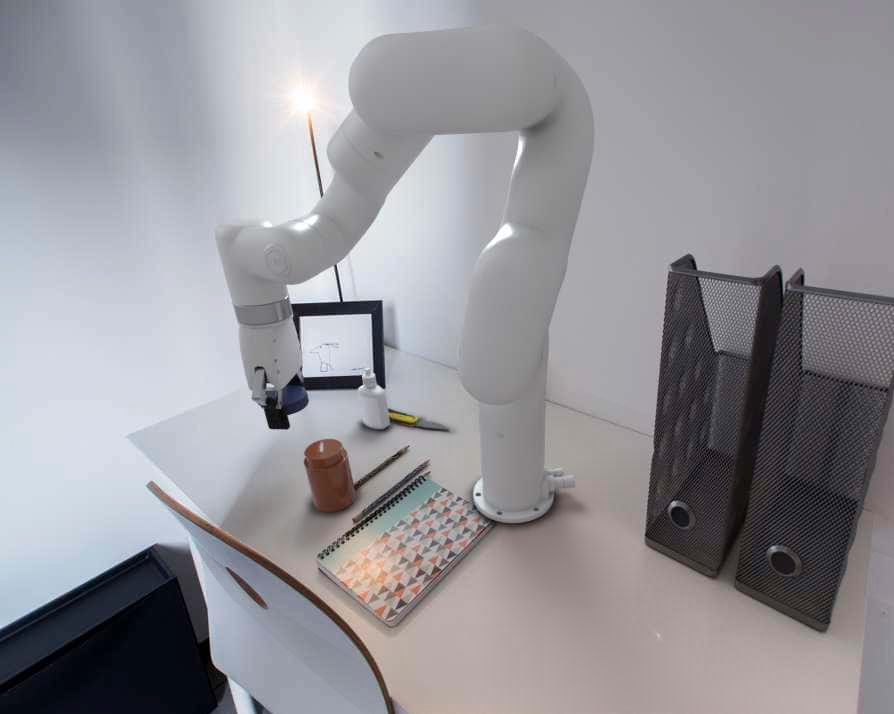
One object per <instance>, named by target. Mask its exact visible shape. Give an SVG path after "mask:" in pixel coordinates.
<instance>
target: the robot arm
mask: <svg viewBox="0 0 894 714" xmlns="http://www.w3.org/2000/svg"><path fill="white" fill-rule="evenodd" d="M348 92H349V93H348V94H349V98H350V101H351V105H352V108H351V110H350V111H349V113H348V114H347V116H346V117H345V118H344V120H343V121H342V122H341V124H340V125H339V127H338V128H337V130H336V131H335V133H334V134H333V135H332V137H331V138H330V140H329V141H328V144H327V147H326V156H327V159H328V162H329V164H330V166H331V168H332V169H333V170H334V174H333V178H332V180H331V182H330V184H329V186H328V188H327V189H326V190H325V192H324V194H323V195H322V196H321V198H320V200H318V201H317V202H316V205H315V206H314V207H313V209H312V210H311V211H310V212H309V213H308V214H306V215H301V216H299V217H297V218H296V217H295V218H293V219H291V220H288V221H286V222H282V223H279V224H277V225H274V226H273V224H272V223H271V222H270V221H268V220H266V219H263V218H257V217H256V218H255V217H248V218H247V217H246V218H245V217H244V218H236V219H235V218H234V219H230V220H226V221H222V222H220V223H218V225H217V226H216V227H215V229H214V240H215V243H216V247H217V250H218V255H219V257H220V262H221V265H222V269H223V272H224V276H225V280H226V284H227V288H228V291H229V292H228V293H229V295H230V299H231V303H232V306H233V310H234V313H235V317H236V321H237V325H238V326H239V327H238V340H239V350H240V355H241V360H242V361H241V362H242V365H243V370H244V376H245V379H246V383H247V387H248V389H249V390H250V391H251V400H252V401H253V402H255V403H256V404H257V405H258V406H259V407H260V409H262V410H263V412H264V415H265V416H264V417H265V419H266V423H267V427H268V429H270V430H283V431H284V430H285V431H286V430H289V429H290V428H291V423H290V419H289V415H287V411H286V406H282V389H283V388H284V387H285V386H286V385H298V386H302V387H304V388H305V389H306V387H305V383H304V380H305V376H304V374H303V372H302V370H303V368H304V367H303V362H304V361H303V350H302V347H301V343H300V340H299V336H298V333H297V329H296V325H295V321H294V319H293V318H294V311H293V308H292V303H291V299H290V294H289V289H288V286H295V285H296V286H297V285H300V284H304V283H306V282H307V281H309V280H311V279H313V278H314V277H316V276H318V275H320V274H321V273H323V272H324V271H327V270H328V269H331V268H332V267H334V266H336V265H338V264H339V263H341V262H342V261H343V260H344V259H345V258H347V256H348V255H349V254H350V253H351V251H352V250H353V249H354V248H355V246H356V245H357V244H358V243H359V241H360V240H362V238H363V237H364V235H365V234H366V233H367V232H368V230H369V229H370V228H371V226H372V225H373V223H374V222H375V220H376V219H377V217H378V215H379V213H380V212H381V210H382V208H383V206H384V204H385V203H386V200H387V197H388V195H389V194H390V193H391V192H392V190H393V188H395V186H396V185H397V184H398V182H399V181H400V180H401V178H402V177H403V176H404V175H405V173H406V172H407V171H408V170H409V169H410V167H411V166H412V165H413V163H414V162H415V161H416V159H418V158H419V156H420V155H421V153H422V152H423V151H424V149H426V147H427V146H428V145H429V144H430V142H431V141H432V140H433V138H434V137H435V136H446V135H465V134H489V133H490V134H492V133H510V132H517V135H518V136H517V137H518V138H517V139H518V144H517V152H516V157H515V160H514V164H513V167H512V171H511V175H510V180H509V185H508V193H507V196H506V197H507V198H506V202H505V207H504V210H503V215H502V219H501V222H500V225H499V229H498V231H497V233H496V234H495V236H494V237H493V238H492V239H491V240H490V241H489V243H487V245H486V246H485V247H484V249H482V251H481V253H480V254H479V256H478V259H477V260H476V263H475V265H474V269H473V271H472V274H471V279H470V282H469V287H468V293H467V298H466V303H465V309H464V314H463V319H462V324H461V330H460V335H459V341H458V346H457V352H456V371H457V375H458V378H459V381H460V383H461V385H462V387H463V388H464V389H465V391H466V392H467V393H468V394H469V395H470V396H471V397H472V398H473V399H475V400H476V401H477V405H478V425H479V428H478V429H479V444H480V462H481V463H480V464H481V477H480V478H479V479H478V480H477V482H476V484H474V487H473V491H472V499H473V502H474V506H475V507H476V509H477V511H479V512H480V513H481V514H482V515H483V516H485V517H487V518H488V519H491V520H494V521H496V522H500V523H505V524H521V523H527V522H530V521H533V520H536V519H538V518H540V517H542V516H543V515H545V514H546V513H547V512H548V511H549V510H550V509H551V507H552V505H553V503H554V500H555V499H554V498H555V492H556V490H557V489H558V490H559V489H571V488H572V489H573V488H576V479H575V476H574V475H573V474H568V475H564V469H563V467H557V468H552V469H548V467H545V453H546V451H545V450H546V449H545V448H546V447H545V446H546V413H547V412H546V409H547V407H546V406H547V403H546V402H547V380H548V379H547V377H548V364H549V350H550V333H549V328H550V325H551V322H552V318H553V314H554V311H555V308H556V304H557V301H558V297H559V294H560V291H561V288H562V286H563V283H564V280H565V277H566V274H567V270H568V263H569V255H570V251H571V245H572V241H573V238H574V234H575V230H576V226H577V222H578V219H579V216H580V212H581V207H582V202H583V199H584V195H585V190H586V187H587V184H588V179H589V174H590V171H591V166H592V161H593V154H594V146H595V120H594V113H593V107H592V104H591V101H590V96H589V94H588V92H587V89H586V87H585V85H584V83H583V81H582V80H581V78H580V75H578V73H577V72H576V70H575V69H574V68H573V67H572V65H571V64H570V63H569V62H568V60H567V59H566V58H565V57H564V56H563V55H562V54H561V53H560V52H559V51H558V50H556V48H555V47H554V46H552V45H551V44H550V43H549V42H547V41H546V40H544V39H543V38H542V37H540V36H539V35H537V34H535V33H533V32H531V31H529V30H528V29H526V28H523V27H520V26H516V25H513V24H505V23H504V24H503V23H502V24H485V25H476V26H475V25H474V26H465V27H457V28H447V29H446V28H445V29H437V30H426V31H413V32H400V33H387V34H386V33H385V34H382V35H378V36H376V37H374V38H372V39H370V40H369V41H368V42H366V43H365V44H364V45H363V46H362V47H361V48H360V49H359V50H358V51H357V53H356V55H355V56H354V58H353V60H352V63H351V65H350V69H349V74H348ZM267 384H268V385H269V384H270V385H272V387H271V386H270V387H269V386H267ZM268 392H275V399H273V398H271V397H268Z"/></svg>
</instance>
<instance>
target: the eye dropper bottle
mask: <svg viewBox="0 0 894 714" xmlns="http://www.w3.org/2000/svg"><path fill="white" fill-rule="evenodd" d="M364 371H365V373H363V374H362V376H361V380H362V385H361V386H359V387H358V388H357V396H358V403H359V408H360V413H361V419H362V422H363V424H364V425H365V426H367V427H368V428H371V429H374V430H384V429H386V428H388V427H389V426H390V424H391V421H390V420H389V414H388V408H389V407H388V402H387V396H386V392H385V390H384V388H382V387H381V386H380V385H379V384H378V383H377V377H376V373H374V372H371V368H369V367H366V368H365V369H364Z"/></svg>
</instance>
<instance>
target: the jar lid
mask: <svg viewBox="0 0 894 714" xmlns="http://www.w3.org/2000/svg"><path fill="white" fill-rule="evenodd" d="M304 387H305V386H304ZM304 387H302V386H298V385H286V386H285V387H284V388H283V389H282V406H286V411H287V415H288V416H292V415H294V414H297V413H299V412H301V411H303V410H304V409H305V408H306V407H308V405H309V402H310V398H309V395H308V392H307V389H306V387H305V388H304ZM268 397H271V398H273V399H275V392H268Z"/></svg>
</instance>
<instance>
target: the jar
mask: <svg viewBox="0 0 894 714" xmlns="http://www.w3.org/2000/svg"><path fill="white" fill-rule="evenodd" d="M303 455H304V459H303V466H304V469H305V474H306V477H307V481H308V486H309V489H310V494H311V497H312V501H313V504H314V507H315V509H317V510H318V511H320V512H325V513H335V512H340V511H342V510H344V509H346V508H348V507H349V506H350V505H352V504H353V502H355V499H356V497H357V493H356V489H355V483H354V479H353V475H352V468H351V465H350V459H349V455H348V451H347V450H346V448H344V445H343V443H342V442H341V441H340V440H338V439H334V438H324V439H320V440H316V441H314V442H311V443H310V444H309V445H308V446H306V449H304V451H303Z"/></svg>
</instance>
